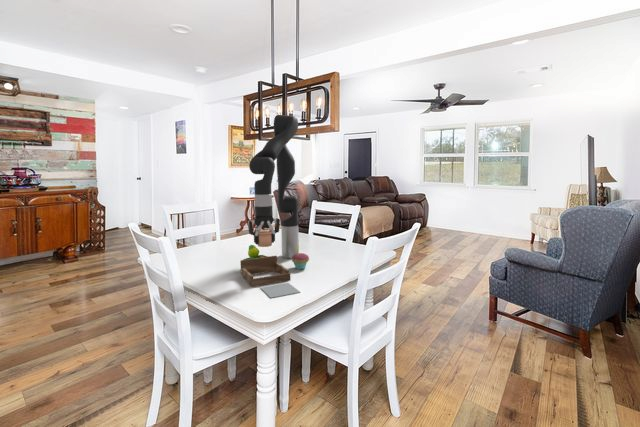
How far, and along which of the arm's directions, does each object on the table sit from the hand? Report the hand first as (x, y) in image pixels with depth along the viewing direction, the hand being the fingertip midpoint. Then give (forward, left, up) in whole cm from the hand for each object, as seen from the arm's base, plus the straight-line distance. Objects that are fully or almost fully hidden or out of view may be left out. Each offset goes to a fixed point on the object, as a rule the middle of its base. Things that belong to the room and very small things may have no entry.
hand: (264, 243), depth 145 cm
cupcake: (-7, +20, -16) cm, 27 cm away
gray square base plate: (+17, 0, -16) cm, 23 cm away
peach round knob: (0, 0, -1) cm, 1 cm away
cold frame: (-1, 0, -16) cm, 16 cm away
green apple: (-17, +1, -16) cm, 24 cm away
